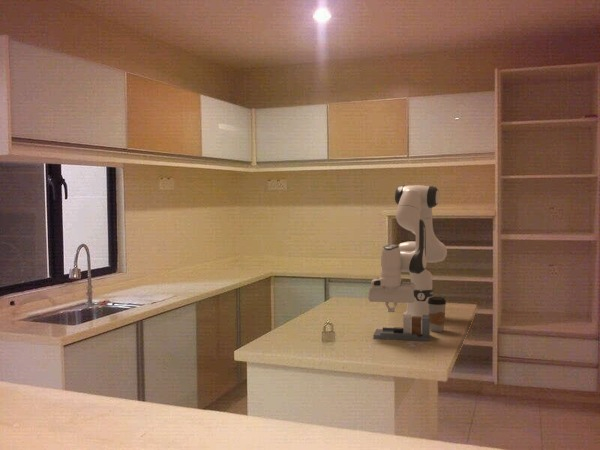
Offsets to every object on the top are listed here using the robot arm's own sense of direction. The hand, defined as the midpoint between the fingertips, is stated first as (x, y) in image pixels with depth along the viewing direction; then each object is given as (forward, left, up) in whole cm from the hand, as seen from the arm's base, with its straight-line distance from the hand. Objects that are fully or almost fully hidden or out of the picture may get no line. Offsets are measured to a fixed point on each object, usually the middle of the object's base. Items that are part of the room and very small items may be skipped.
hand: (391, 311), depth 260 cm
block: (+1, +11, -9) cm, 15 cm away
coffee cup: (-15, +20, -11) cm, 27 cm away
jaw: (+1, +5, -9) cm, 10 cm away
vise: (+1, +5, -11) cm, 12 cm away
